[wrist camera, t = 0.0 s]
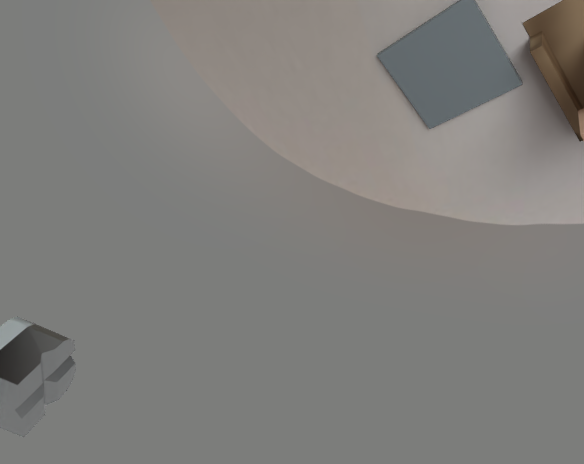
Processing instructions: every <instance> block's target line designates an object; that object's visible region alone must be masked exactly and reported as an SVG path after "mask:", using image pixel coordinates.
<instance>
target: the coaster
mask: <svg viewBox="0 0 584 464" xmlns="http://www.w3.org/2000/svg"><path fill="white" fill-rule="evenodd" d="M377 56H378V58H379V59H380V61H381V62H382V63H383V65H384V66H385V68H386V69H387V70H388V72H389V73H390V75H391V76H392V77H393V79H394V80H395V82H396V83H397V84H398V86H399V87H400V88H401V90H402V91H403V93H404V94H405V95H406V97H407V98H408V100H409V101H410V102H411V104H412V105H413V107H414V108H415V109H416V111H417V112H418V114H419V115H420V116H421V118H422V119H423V121H424V122H425V123H426V125H427V126H428V128H429V129H431V128H433V127H435V126H437V125H439V124H441V123H443V122H446V121H448V120H450V119H452V118H454V117H456V116H458V115H460V114H462V113H464V112H466V111H468V110H470V109H473V108H475V107H477V106H479V105H481V104H483V103H485V102H487V101H489V100H491V99H493V98H495V97H497V96H500V95H502V94H504V93H506V92H508V91H510V90H512V89H514V88H516V87H518V86H520V85H522V80H521V78H520V77H519V75H518V73H517V72H516V70H515V68H514V66H513V65H512V63H511V61H510V60H509V58H508V56H507V54H506V53H505V51H504V49H503V47H502V46H501V44H500V42H499V41H498V39H497V37H496V35H495V34H494V32H493V30H492V29H491V27H490V25H489V23H488V22H487V20H486V18H485V17H484V15H483V13H482V11H481V10H480V8H479V6H478V5H477V3H476V1H475V0H459V1H458V2H456V3H454V4H453V5H451V6H450V7H448V8H447V9H445V10H444V11H442V12H441V13H439V14H438V15H436V16H435V17H433V18H432V19H430V20H429V21H427V22H425V23H424V24H422V25H421V26H419V27H418V28H416V29H415V30H413V31H412V32H410V33H409V34H407V35H406V36H404V37H403V38H401V39H400V40H398V41H396V42H395V43H393V44H392V45H390V46H389V47H387V48H386V49H384V50H383V51H381V52H380V53H378V55H377Z"/></svg>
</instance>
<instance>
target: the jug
mask: <svg viewBox="0 0 584 464" xmlns="http://www.w3.org/2000/svg"><path fill="white" fill-rule="evenodd" d="M578 117H579V126H580V135H581V137H582V139H583V141H584V108H583V109H581V110H578Z"/></svg>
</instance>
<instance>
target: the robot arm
mask: <svg viewBox="0 0 584 464" xmlns="http://www.w3.org/2000/svg"><path fill="white" fill-rule="evenodd" d="M74 351H75V344H74V340H72V339H70V338H67V337H65V336H62V335H60V334H58V333H55V332H53V331H51V330H48V329H46V328H44V327H41V326H39V325H37V324H35V323H32V322H30V321H27V320H24V319H22V318H20V317H15V318H13V319H10V320H8V321H7V322H5V323H4V324H3V325H2V326H0V428H2V429H5V430H7V431H10V432H12V433H15V434H17V435H20V436H22V437H25V436H26V435H27V434H28V433H29V431H30V430H31V429H32V428H33V427H34V426H35V425H36V424H37V423H38V422H39V420H41V418H42V417H43V416H44V415H45V409H46V405H47V404H49V403H52V402H54V401H57V400H59V399H60V398H61V396H62V395H63V394H64V393H65V392H66V391H67V389H68V387H69V386H70V384H71V382H72V380H73V377H74V374H75V370H76V369H75V362H74V361H73V359H72V357H71V356H70V355H71V354H72V353H73V352H74Z"/></svg>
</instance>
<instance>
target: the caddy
mask: <svg viewBox="0 0 584 464" xmlns="http://www.w3.org/2000/svg"><path fill="white" fill-rule="evenodd" d="M523 25H524V27H525V29H526V30H527V32H528V34H529V36H530V53H531V55H532V56H533V58H534V60H535V62H536V64H537V65H538V67H539V69H540V71H541V73H542V74H543V76H544V78H545V80H546V82H547V83H548V85H549V87H550V89H551V91H552V92H553V94H554V96H555V98H556V100H557V101H558V103H559V105H560V107H561V109H562V110H563V112H564V114H565V116H566V117H567V119H568V121H569V123H570V125H571V126H572V128H573V130H574V132H575V134H576V135H577V137H578V139H579V141H583V139H582V137H581V135H580V126H579V117H578V110H581V109H583V108H584V0H563V1H561V2H559V3H557V4H556V5H554V6H552V7H550V8H548V9H547V10H545V11H543V12H541V13H540V14H538V15H536V16H534V17H533V18H531V19H529V20H527V21H526V22H524V23H523Z"/></svg>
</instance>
